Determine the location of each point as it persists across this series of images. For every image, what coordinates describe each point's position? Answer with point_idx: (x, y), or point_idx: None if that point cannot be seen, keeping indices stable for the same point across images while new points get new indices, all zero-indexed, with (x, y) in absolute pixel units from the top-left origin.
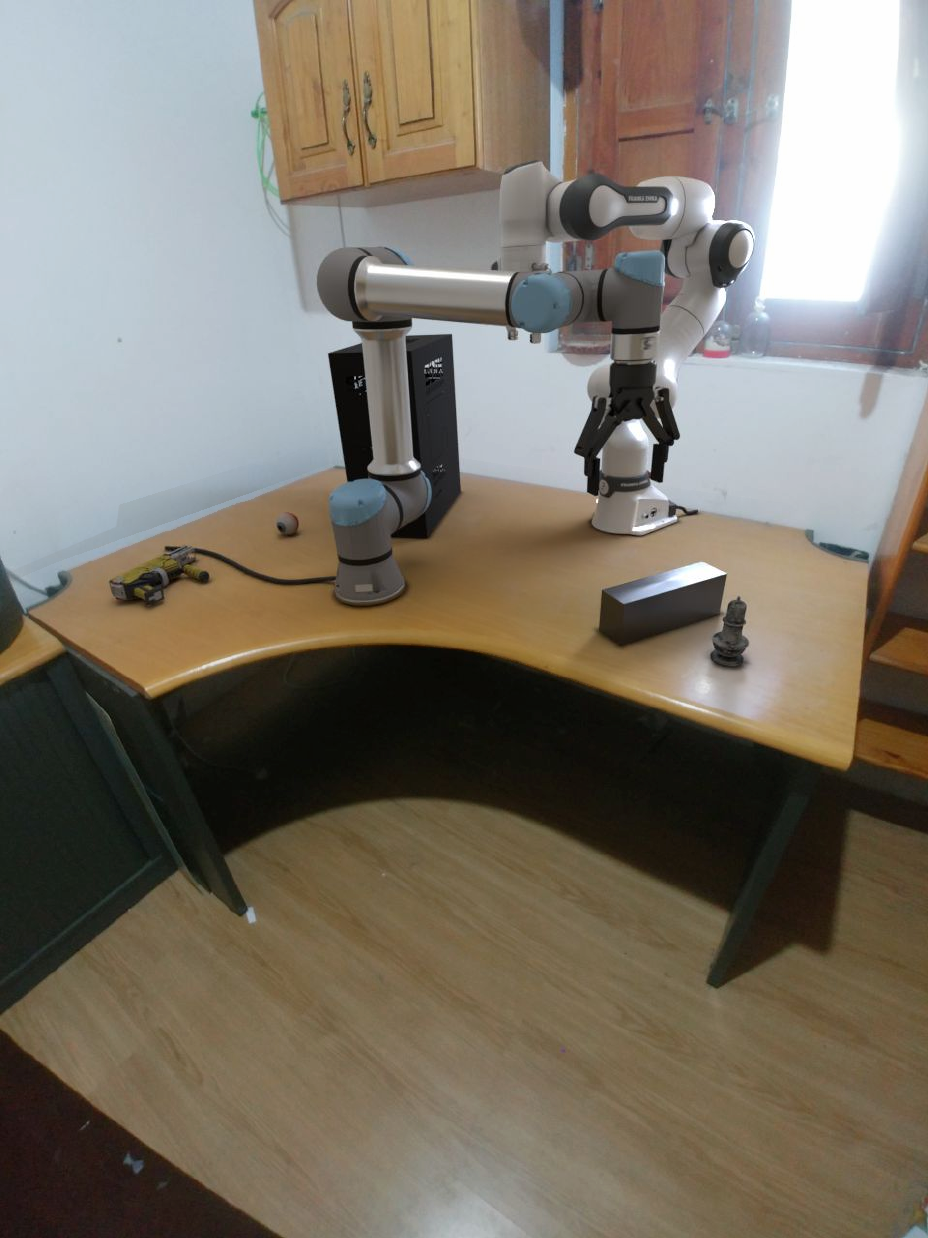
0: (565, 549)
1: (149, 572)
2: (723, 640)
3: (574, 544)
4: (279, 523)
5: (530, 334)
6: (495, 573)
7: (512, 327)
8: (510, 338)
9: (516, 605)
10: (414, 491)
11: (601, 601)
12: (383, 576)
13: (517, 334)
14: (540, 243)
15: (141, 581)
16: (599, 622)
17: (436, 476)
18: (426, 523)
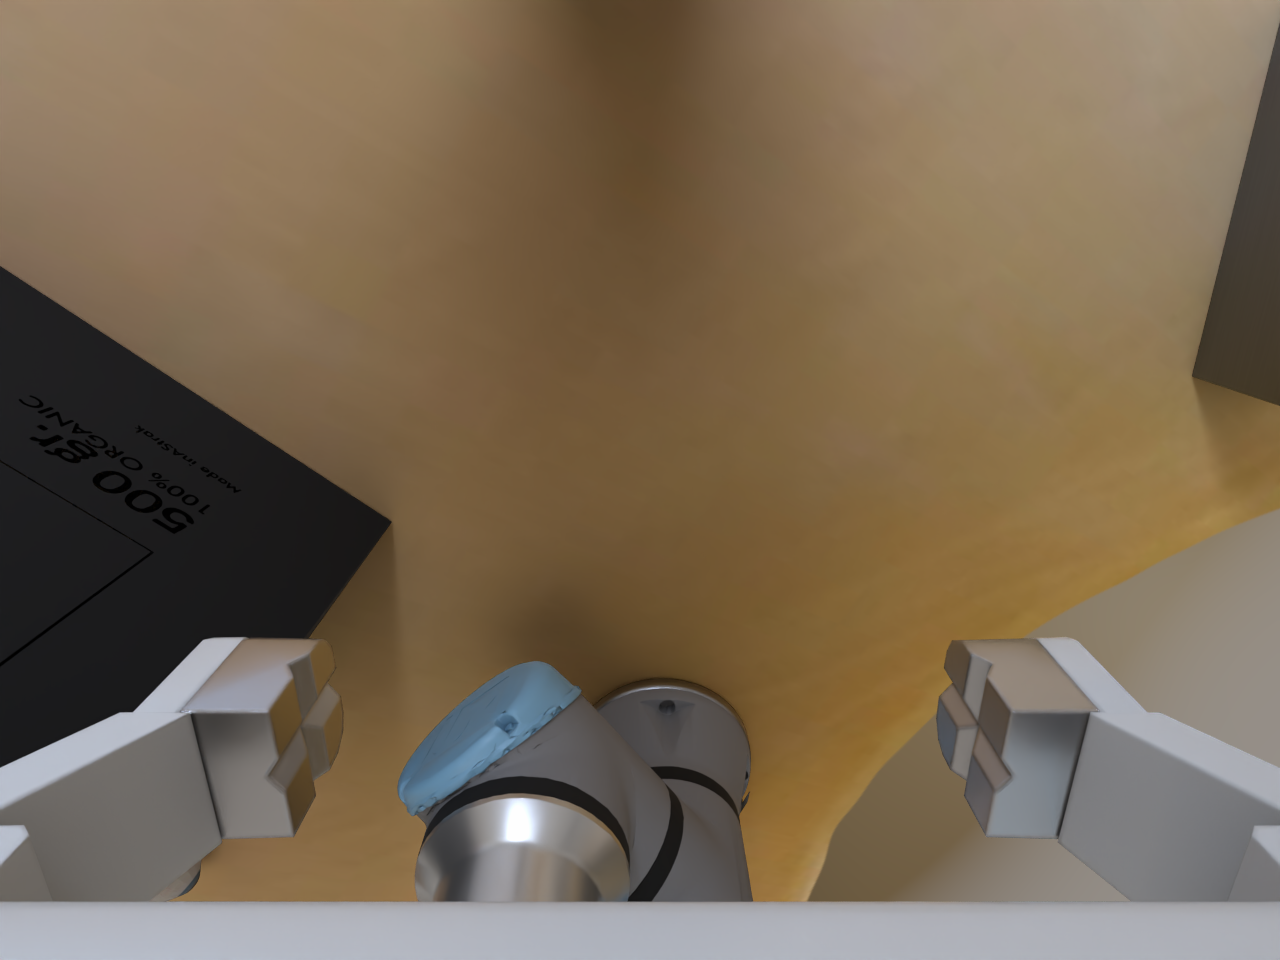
0: (716, 149)
1: None
2: None
3: (695, 89)
4: (182, 894)
5: (1010, 831)
6: (749, 449)
7: (148, 807)
8: (326, 756)
9: (950, 488)
10: (620, 786)
11: (1258, 397)
12: (740, 780)
13: (298, 682)
14: None
15: None
16: (1208, 381)
17: (148, 490)
18: (373, 542)
